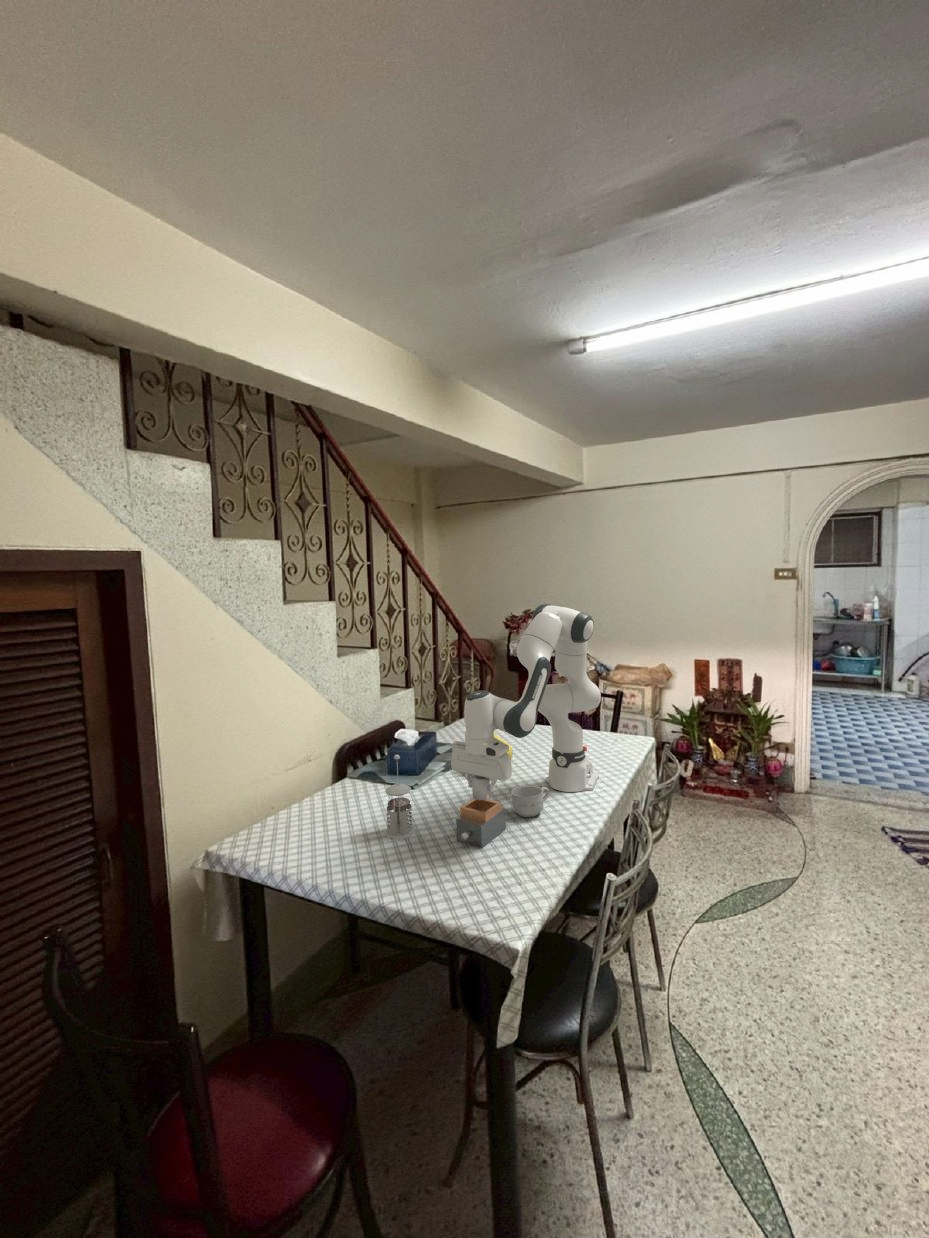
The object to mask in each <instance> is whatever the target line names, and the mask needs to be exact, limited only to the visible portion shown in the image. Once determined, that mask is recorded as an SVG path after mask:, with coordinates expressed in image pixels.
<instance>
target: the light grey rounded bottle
mask: <svg viewBox="0 0 929 1238" xmlns="http://www.w3.org/2000/svg"><path fill="white" fill-rule="evenodd" d="M471 777H472V788H471V792H472V793H471V794H472V799H476V800H486V799H487V800H490V798H491V792H489V791H487V786H488V785H490V784H491V781H490V778H487V777H482V776H477V775H473V776H472V775H471Z"/></svg>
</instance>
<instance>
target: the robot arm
mask: <svg viewBox="0 0 929 1238" xmlns="http://www.w3.org/2000/svg"><path fill="white" fill-rule="evenodd" d="M594 629H595V621H594V619H593V617H592V616H591V615H590V614H588V613H587V612H584V611H579V610H576V609H573V608H569V607H567V606H566V607H563V606H558V605H552V604H548V603H547V604H546V603H543V604H540V605H538V606H537V607H536V608H535V609H534V610H533V613H532V615H531V622H530V623H529V625H528V626H527V627H526V630H525V631H524V633H523V634H522V636H521V638H520V640H519V642H518V645H517V648H516V656H517V658H518V660H519V662H520V663H521V665H522V666H523V667H524V668H525V669H527V671H528V678H527V681H526V683H525V687H524V689H523V692H522V695H521V697H520V698H519V700H518V701H514V700H510V699H507V698H503V697H499V696H496V695H494V694H492V693H491V692H489V691H488V690H476V691H472V692H471V693H469V694H467V696H466V698H465V701H464V711H463V712H464V713H463V717H464V725H465V734H464V741H459V740H456V741H455V742H453V743H452V744H451V759H450V760H451V762H450V767H451V769H452V770H453V772H459V773H464V777H465V779H466V781H467V782H468V784H467V786H468V788H471V789H472V775H473V776H474V775H477V776H482V777H487V778H490V785H488V786H487V791H489V792H490V793H492V792H494V791H495V785H496V783H497V781H501V782H506V781H507V780H509V779H510V778H511V777H512V775H513V768H512V759H511V758H510V756H509V754H508V753H507V752H508V751H509V746H508V745H507V744H505V743H503V742H501V741H499V740H498V739H496V738H494V733H495V732H494V731H495V730H499V731H502V732H504V733H507V734H508V735H511V736H513V737H515V738H517V739H521V738H526V737H527V736H529V735H530V734H532V732H533V730H534V729H535V727H536V723H537V719H538V712H539V713H540V714H542V715H543V716H544V717H545V718H546V720H547V721H548V723H549V724H550V727H551V733H552V748H551V757H552V758H551V759H550V760H549V762H548V776H547V777H545V782H547V783H548V785H549V786H550V787H551V788H552V789H554V790H557V791H560V792H567V793H577V792H582V791H593V790H594V787H595V785H596V784H597V781H598V780H599V775H600V774H598V773H597V772H594V771H593V770H594V769H593V763H592V761H590V760H589V759H588V758H587V757H586V752H587V750H588V746H587V745H584V736H583V735H584V733H583V728H582V726H581V725H580V724H579V723H577V722H575V721H573V720H571V719H569V714H570V713H579V712H587V711H591V710H594V709H597V708H598V707H599V706H600V703H601V700H602V695H601V691H600V688H599V687H598V686H597V684H596V683H594V682H592V680H591V679H590V678H589V677H588V673H587V656H588V655H587V654H588V641H589V640H590V639H591V638H592V635H593V633H594V631H595V630H594ZM554 650H555V657H554V669H555V670H556V672H557V673H558V674H559V675H560V676H562V677H564V678H566V679H567V682H564V683H563V682H562V683H552V684H548V681H549V679H550V676H551V671H552V663H551V662H550V661H551V658H552V654H553V653H554Z"/></svg>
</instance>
